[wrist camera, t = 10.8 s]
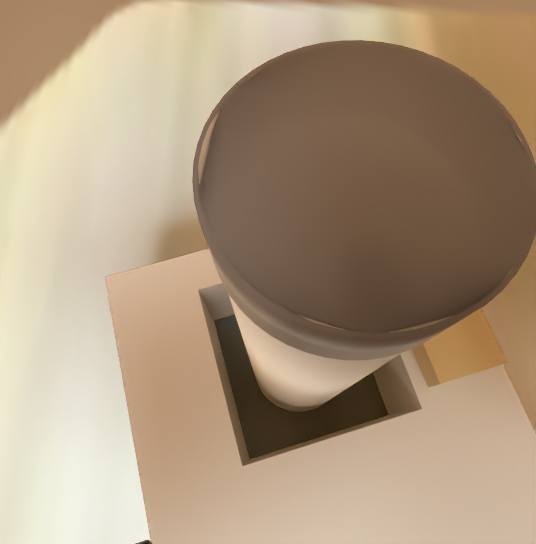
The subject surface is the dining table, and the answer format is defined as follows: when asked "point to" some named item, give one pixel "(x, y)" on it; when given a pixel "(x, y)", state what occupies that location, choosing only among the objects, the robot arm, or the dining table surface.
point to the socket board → (323, 450)
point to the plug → (358, 209)
